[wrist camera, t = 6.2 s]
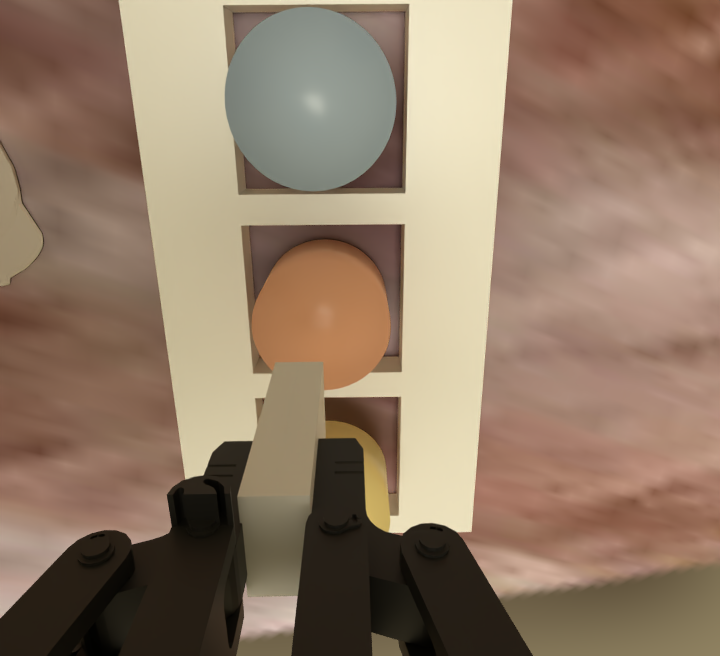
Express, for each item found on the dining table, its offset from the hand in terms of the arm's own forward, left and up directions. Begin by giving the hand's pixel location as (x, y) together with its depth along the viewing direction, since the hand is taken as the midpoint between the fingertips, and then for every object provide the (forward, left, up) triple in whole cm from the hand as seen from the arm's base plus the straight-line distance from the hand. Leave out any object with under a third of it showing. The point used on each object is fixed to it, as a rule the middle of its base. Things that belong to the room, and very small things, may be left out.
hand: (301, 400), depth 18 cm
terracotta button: (0, 0, -11) cm, 11 cm away
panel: (0, 0, -12) cm, 12 cm away
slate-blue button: (0, +9, -9) cm, 13 cm away
